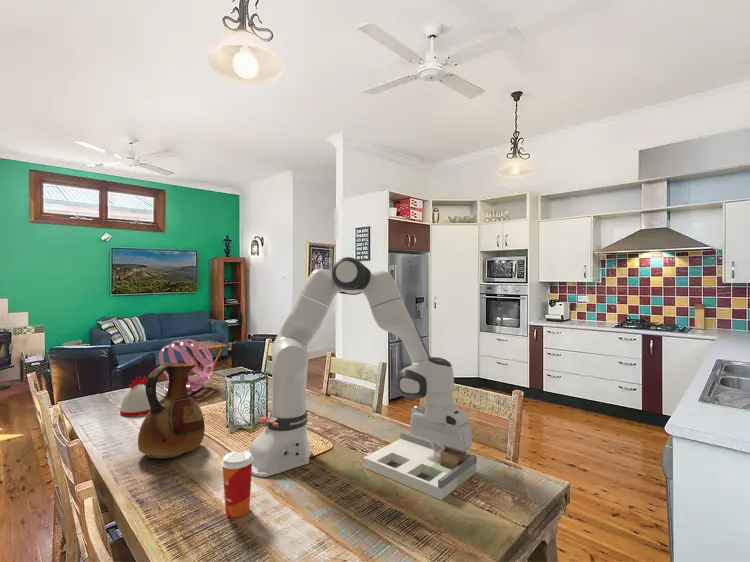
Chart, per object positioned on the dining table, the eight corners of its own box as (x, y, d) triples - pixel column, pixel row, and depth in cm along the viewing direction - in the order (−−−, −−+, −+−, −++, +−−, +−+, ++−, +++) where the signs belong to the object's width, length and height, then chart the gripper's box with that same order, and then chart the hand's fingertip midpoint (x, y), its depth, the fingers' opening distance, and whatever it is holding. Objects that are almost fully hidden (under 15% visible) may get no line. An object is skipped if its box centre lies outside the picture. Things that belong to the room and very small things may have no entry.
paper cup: (226, 503, 105) (226, 450, 105) (256, 502, 106) (256, 449, 105) (217, 521, 97) (216, 464, 97) (249, 520, 98) (249, 462, 98)
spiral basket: (131, 357, 197) (177, 325, 197) (168, 359, 224) (209, 332, 224) (153, 407, 189) (201, 375, 189) (189, 403, 216) (231, 375, 216)
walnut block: (456, 471, 116) (456, 457, 116) (440, 465, 120) (440, 452, 120) (466, 464, 120) (466, 451, 120) (449, 459, 124) (449, 446, 124)
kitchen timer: (163, 409, 179) (162, 375, 179) (130, 418, 168) (130, 382, 168) (146, 403, 187) (146, 371, 187) (114, 412, 175) (113, 378, 175)
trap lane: (441, 500, 107) (441, 481, 107) (363, 467, 125) (363, 451, 125) (476, 472, 122) (476, 455, 122) (402, 446, 140) (402, 432, 140)
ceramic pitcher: (217, 445, 141) (216, 360, 140) (165, 470, 123) (165, 372, 122) (178, 436, 149) (177, 355, 149) (124, 458, 131) (123, 366, 130)
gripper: (405, 407, 127) (405, 450, 128) (463, 422, 114) (463, 471, 114) (417, 402, 132) (417, 444, 132) (474, 416, 119) (474, 463, 119)
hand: (439, 456), depth 123 cm, fingers closed
